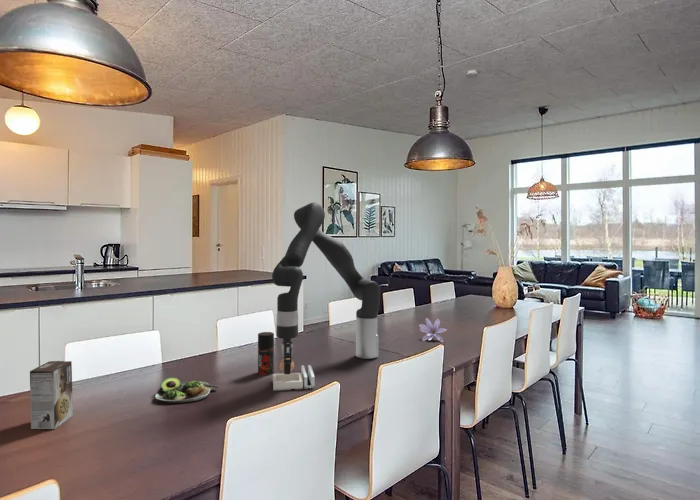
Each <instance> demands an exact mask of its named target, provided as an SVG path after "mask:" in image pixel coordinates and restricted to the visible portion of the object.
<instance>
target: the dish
mask: <svg viewBox="0 0 700 500" xmlns="http://www.w3.org/2000/svg"><path fill="white" fill-rule="evenodd" d="M291 389H295V390H303V389H304V385H303V379H302V375H301V371H300V372H291V373H290V374H284V372H282V373H273V374H272V392H274V391H275V392H276V391H277V392H278V391H291Z"/></svg>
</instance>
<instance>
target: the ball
mask: <svg viewBox="0 0 700 500" xmlns="http://www.w3.org/2000/svg"><path fill="white" fill-rule="evenodd" d="M288 359H290V358H286V360H288ZM294 368H295V363H294V360H292V362H291V372H292V371H293V370H294ZM279 369H280V370H281V372H282V373H284V358H282V359H281V361H280V363H279Z"/></svg>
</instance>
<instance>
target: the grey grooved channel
mask: <svg viewBox="0 0 700 500" xmlns="http://www.w3.org/2000/svg"><path fill="white" fill-rule="evenodd" d="M300 369H301V370H300V372H301V375H302V379H303V389H304V390H308V388H310V389H311V388H312V389H315V388H316V386H315V384H316V383H315V382H316V381H315V379H316V378H315V377H316V376H315V373H314V371H313V367H312V365H311V364H308V365H307V370H306V367H305V365H303V364H302V365H301V367H300ZM308 382H309V384H310V385H309V384H308ZM310 389H309V390H310Z"/></svg>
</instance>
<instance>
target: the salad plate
mask: <svg viewBox="0 0 700 500" xmlns="http://www.w3.org/2000/svg"><path fill="white" fill-rule="evenodd" d="M159 387H160V388H159V389H158V390H157V392H156V393H155V395H154V398H153V399H154V402H157V403H158V404H161V405H162V404H163V405H174V404H182V403H185V404H186V403H191V402H196V401H200V400H204V399H205V398H208V396H209V395H210V392H211V391H212V390H213V389H218V388H220V386H219V385H215V384H209V383H208V382H205V381H200V380H199V381H198V380H191V381H189V382H187V381H185V382H184V381H181V379H179V378H177V377H167V378H165V379H163V381H162V382H161V383H160V385H159ZM192 396H193V398H189V397H192ZM195 396H196V397H195ZM186 398H187V399H186Z"/></svg>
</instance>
